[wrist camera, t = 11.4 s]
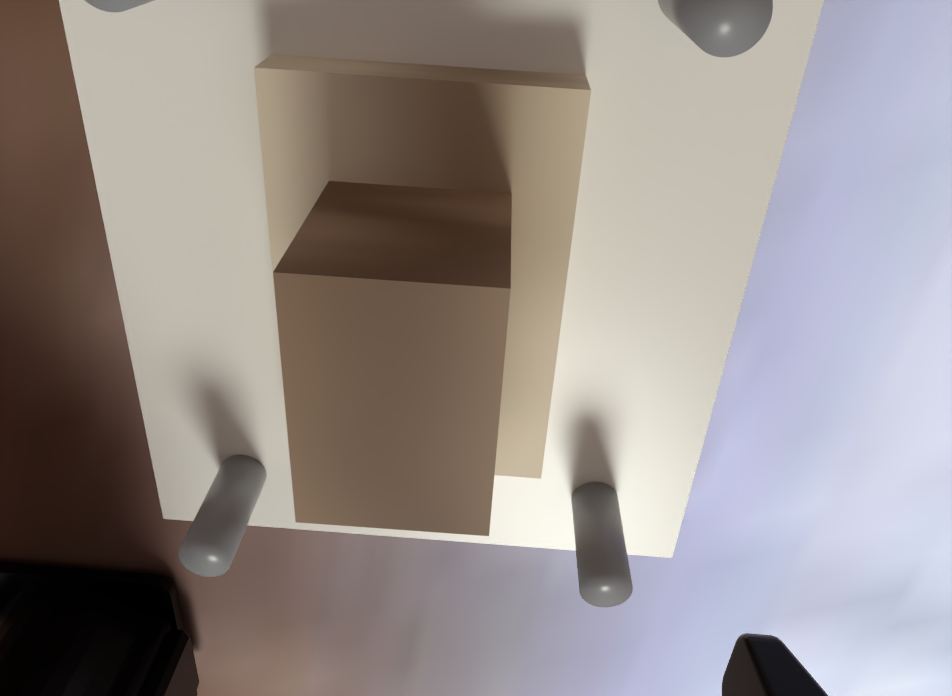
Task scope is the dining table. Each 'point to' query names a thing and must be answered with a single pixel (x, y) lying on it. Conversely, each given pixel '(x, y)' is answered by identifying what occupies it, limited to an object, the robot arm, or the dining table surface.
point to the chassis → (590, 264)
